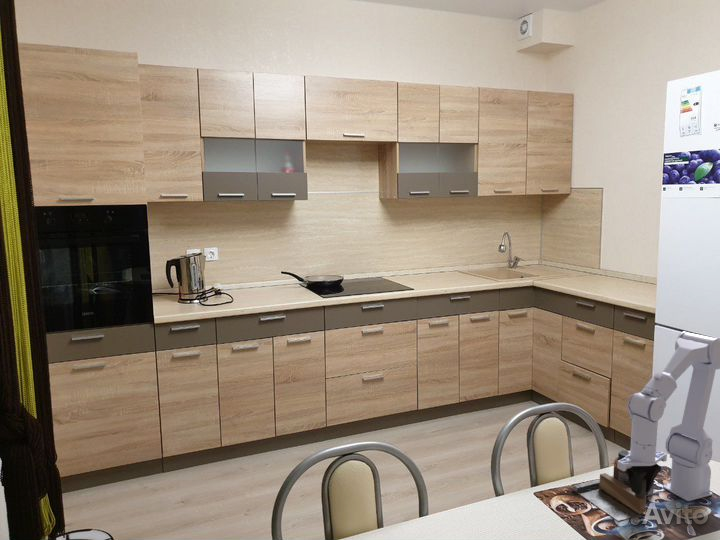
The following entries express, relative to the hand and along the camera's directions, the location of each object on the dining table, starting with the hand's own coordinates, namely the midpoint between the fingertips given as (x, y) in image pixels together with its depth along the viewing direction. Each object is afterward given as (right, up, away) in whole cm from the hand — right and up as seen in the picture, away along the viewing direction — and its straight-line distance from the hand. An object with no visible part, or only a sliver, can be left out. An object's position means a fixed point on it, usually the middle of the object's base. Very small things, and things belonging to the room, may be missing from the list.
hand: (640, 491), depth 139 cm
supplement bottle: (+1, -5, +11) cm, 12 cm away
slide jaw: (-2, -5, +6) cm, 8 cm away
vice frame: (-1, -5, +8) cm, 9 cm away
